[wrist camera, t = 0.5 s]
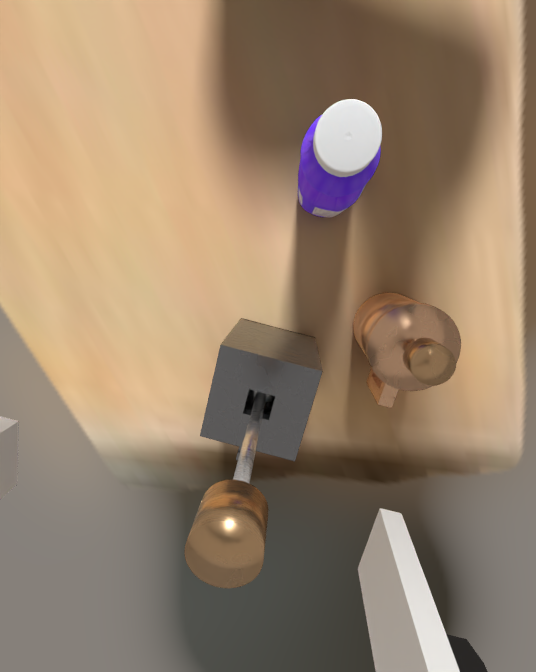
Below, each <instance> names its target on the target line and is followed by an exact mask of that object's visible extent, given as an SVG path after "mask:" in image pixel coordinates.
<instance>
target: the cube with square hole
mask: <svg viewBox="0 0 536 672" xmlns="http://www.w3.org/2000/svg"><path fill="white" fill-rule="evenodd" d="M321 375H322V367H321V362H320V358H319V353H318V349H317V344H316V339H315V337H311V336H307V335H303V334H299V333H296V332H292V331H288V330H284V329H280V328H276V327H273V326H269V325H265V324H261V323H257V322H254V321H250V320H246V319H242V318H241V319H240V320H239V322H238V323H237V324H236V326H235V327H234V328H233V329H232V331H231V332H230V333H229V335H228V336H227V337H226V338H225V340H224V341H223V342H222V344H221V345H220V350H219V354H218V359H217V363H216V367H215V372H214V376H213V381H212V385H211V390H210V394H209V398H208V403H207V407H206V412H205V416H204V421H203V425H202V429H201V434H200V436H202V437H206V438H209V439H213V440H217V441H221V442H224V443H228V444H232V445H236V446H239V450H238V453H237V457H236V460H238V459H239V455H240V452H241V448H242V444H243V441H244V437H245V433H246V429H247V426H248V422H249V418H250V415H251V411H252V410H248V409H244V408H245V404H246V400H247V396H248V393H249V389H250V390H254V391H258V392H262V393H265V394H269V395H273V396H275V398H274V401H273V405H272V408H271V412H270V415H267V414H263V416H262V421H261V427H260V432H259V437H258V442H257V447H256V451H258V452H262V453H266V454H269V455H273V456H277V457H281V458H284V459H288V460H292V461H295V459H296V456H297V453H298V450H299V446H300V443H301V440H302V437H303V433H304V430H305V427H306V424H307V420H308V417H309V414H310V410H311V407H312V404H313V401H314V397H315V394H316V391H317V388H318V384H319V381H320V378H321Z"/></svg>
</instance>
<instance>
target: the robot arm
mask: <svg viewBox="0 0 536 672" xmlns="http://www.w3.org/2000/svg"><path fill="white" fill-rule="evenodd" d="M18 433H19V421H17V420H12V419H8V418H4V417H0V499H2V498H3V497H4V496H5V495H6V494H7V493H8V492H10V491H11V490H12V489H13V488H14V487H15V486H17V475H18V473H17V472H18ZM358 573H359V579H360V584H361V590H362V596H363V601H364V607H365V613H366V618H367V624H368V630H369V635H370V640H371V647H372V653H373V658H374V664H375V670H376V672H487V669H486V667H485V665H484V663H483V662H482V660H481V659H480V657H479V656H478V655H477V653H476V652H475V650H474V649H473V648H472V646H471V645H470V643H469V642H468V641H467V639H463V638H459V637H455V636H451V635H447V634H446V633H445V630H444V627H443V625H442V622H441V619H440V617H439V614H438V611H437V608H436V606H435V603H434V601H433V598H432V595H431V592H430V589H429V587H428V584H427V581H426V579H425V576H424V573H423V570H422V568H421V565H420V562H419V560H418V557H417V554H416V552H415V549H414V546H413V543H412V541H411V538H410V535H409V533H408V530H407V527H406V524H405V522H404V519H403V516H402V514H401V513H398V512H393V511H389V510H386V509H381V508H380V509H379V512H378V514H377V517H376V520H375V522H374V525H373V528H372V531H371V533H370V536H369V539H368V542H367V545H366V547H365V550H364V553H363V555H362V558H361V561H360V564H359V566H358Z"/></svg>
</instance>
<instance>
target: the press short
mask: <svg viewBox="0 0 536 672" xmlns="http://www.w3.org/2000/svg"><path fill="white" fill-rule="evenodd" d="M353 331H354V336H355V338H356V341H357V342H358V344H359V345H360V347H361V348H362V350H363V352H364V353H365V355H366V356H367V358H368V361H369V364H370V366H371V370H370V373H369V376H368V379H367V382H366V383H367V385H368V387H369V388H370V390H371V392H372V394H373V396H374V398H375V400H376V402H377V404H378V405H382V406H386V407H389V408H392V406H393V404H394V401H395V398H396V395H397V393H398V390H399V389H400V390H405V391H417V390H423V389H426V388H429V387H431V386H434V385H439V384H442V383H444V382H446V381H447V380H448V379H449V378H450V377H451V376H452V375H453V373H454V371H455V368H456V363H457V361H458V358H459V355H460V350H461V339H460V334H459V331H458V328H457V326H456V325H455V323H454V321H453V320H452V319H451V318H450V317H449V316H448V315H447V314H446V313H445V312H443V311H442V310H440V309H438V308H436V307H434V306H431V305H428V304H424V303H419V302H417V301H414V300H412V299H410V298H407V297H405V296H403V295H400V294H397V293H381V294H378V295H375V296H373V297H371V298H369V299H368V300H366V301H365V302H364V303H363V304H362V305H361V306H360V308H359V309H358V311H357V313H356V315H355V318H354V323H353Z"/></svg>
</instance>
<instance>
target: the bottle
mask: <svg viewBox="0 0 536 672" xmlns="http://www.w3.org/2000/svg"><path fill="white" fill-rule="evenodd" d="M381 140H382V127H381V123H380V119H379V117H378V115H377V113H376V112H375V111H374V110H373V108H372V107H371V106H369V105H368V104H366V103H365V102H362V101H360V100H356V99H346V100H342V101H339V102H337V103H335V104H333V105H332V106H330V107H329V108H328V109H327V110H326V111H325V112H324V113H323V114H322V115H320V116H319V117H318V118H317V119H316V120H315V121H314V122H313V124H312V125H311V126H310V128H309V129H308V131H307V133H306V134H305V137H304V139H303V142H302V146H301V160H300V166H299V174H298V198H299V202H300V204H301V206H302V207H303V209H304V210H305V211H307V212H308V213H311V214H313V215H315V216H319V217H334V216H336V215H338V214H340V213H341V212H343V211H344V210H345V209H347V208H348V207H350V206H351V205H352V204H354V203H355V202H356V200H357V199H358V198H359V197H360V195H361V193H362V191H363V189H364V187H365V185H366V184H367V182H368V181H369V180H370V179H371V177H372V176H373V174H374V172H375V170H376V168H377V166H378V164H379V160H380V154H381V148H380V144H381Z"/></svg>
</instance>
